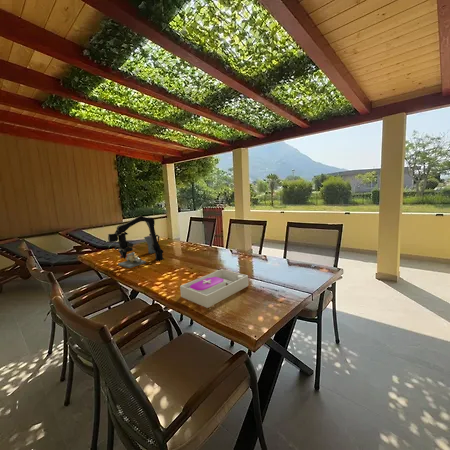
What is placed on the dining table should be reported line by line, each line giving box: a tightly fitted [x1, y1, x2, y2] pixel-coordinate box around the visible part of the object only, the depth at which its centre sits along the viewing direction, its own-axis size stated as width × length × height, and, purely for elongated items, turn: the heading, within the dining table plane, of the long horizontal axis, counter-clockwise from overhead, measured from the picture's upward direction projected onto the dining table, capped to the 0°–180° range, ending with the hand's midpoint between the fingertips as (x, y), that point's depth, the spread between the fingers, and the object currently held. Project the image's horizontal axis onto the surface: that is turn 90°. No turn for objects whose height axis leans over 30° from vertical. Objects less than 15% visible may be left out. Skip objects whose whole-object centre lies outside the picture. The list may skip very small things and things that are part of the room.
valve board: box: [117, 259, 147, 269], centre depth 210 cm, size 18×16×2 cm
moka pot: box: [143, 233, 160, 255], centre depth 246 cm, size 10×15×20 cm, turn 115°
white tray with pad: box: [179, 268, 249, 309], centre depth 143 cm, size 22×35×7 cm, turn 137°
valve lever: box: [119, 251, 135, 259], centre depth 206 cm, size 13×2×2 cm, turn 143°
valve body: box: [125, 255, 142, 263], centre depth 211 cm, size 18×5×6 cm, turn 53°
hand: (124, 258), depth 201 cm, fingers closed
